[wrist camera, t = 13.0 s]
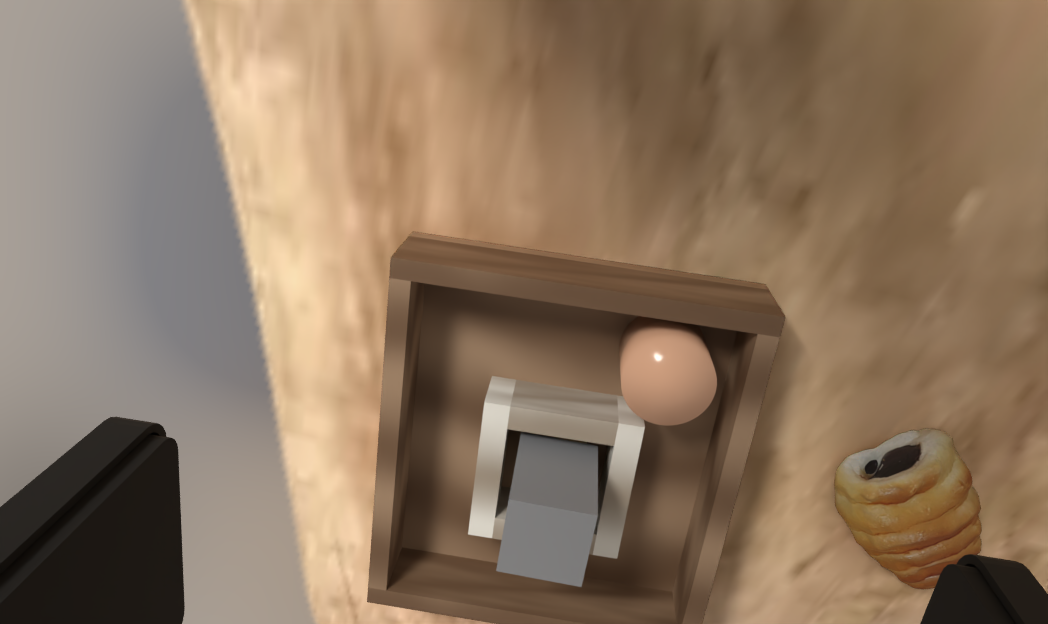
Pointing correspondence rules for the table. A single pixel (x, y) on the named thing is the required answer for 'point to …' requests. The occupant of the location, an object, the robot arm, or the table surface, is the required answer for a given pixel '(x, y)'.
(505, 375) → the crate
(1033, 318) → the table surface
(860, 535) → the pastry
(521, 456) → the gray block
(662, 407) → the ball
